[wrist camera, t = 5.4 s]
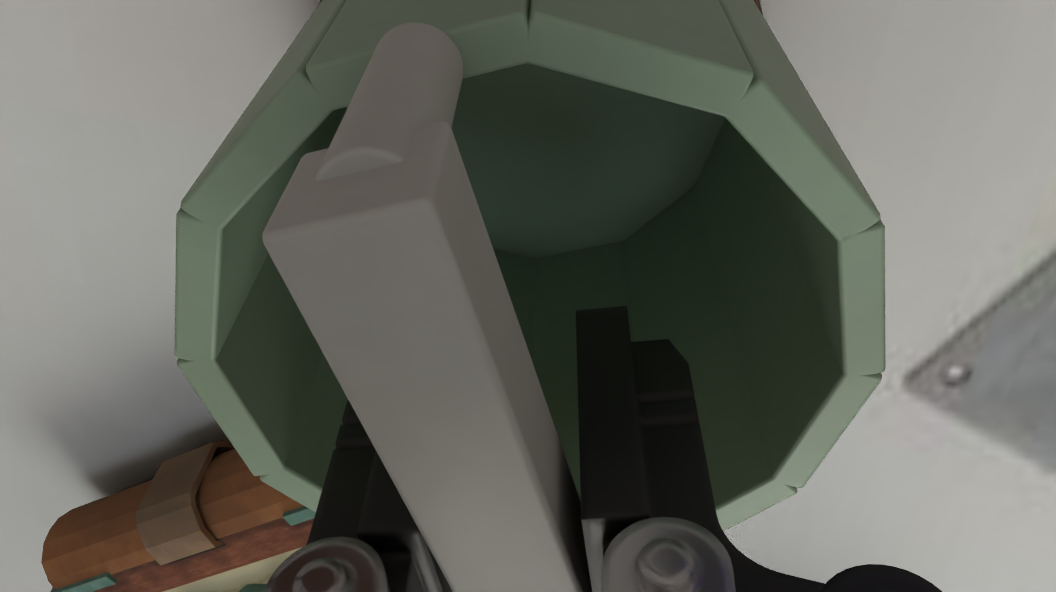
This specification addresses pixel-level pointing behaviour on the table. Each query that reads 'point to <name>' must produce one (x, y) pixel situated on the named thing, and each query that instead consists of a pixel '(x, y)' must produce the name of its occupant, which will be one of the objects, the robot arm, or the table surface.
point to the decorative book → (179, 531)
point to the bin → (526, 259)
